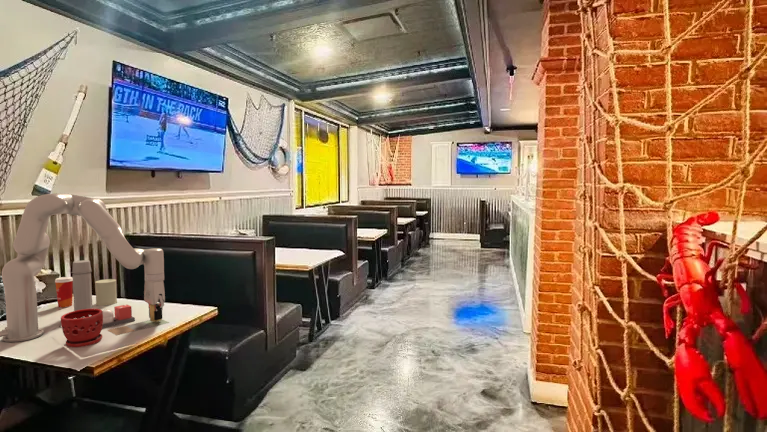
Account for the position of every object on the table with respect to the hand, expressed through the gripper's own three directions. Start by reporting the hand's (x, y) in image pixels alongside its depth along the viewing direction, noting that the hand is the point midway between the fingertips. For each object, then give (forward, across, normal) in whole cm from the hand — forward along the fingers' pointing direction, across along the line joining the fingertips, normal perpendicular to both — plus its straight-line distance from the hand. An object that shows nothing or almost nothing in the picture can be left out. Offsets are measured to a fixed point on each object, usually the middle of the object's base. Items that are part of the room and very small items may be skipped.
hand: (155, 318), depth 192 cm
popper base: (+3, -13, -12) cm, 18 cm away
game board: (+3, 0, -7) cm, 7 cm away
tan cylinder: (+1, 0, 0) cm, 1 cm away
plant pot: (+3, +4, -28) cm, 29 cm away
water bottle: (+3, -40, -15) cm, 43 cm away
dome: (+2, -13, -15) cm, 20 cm away
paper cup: (+3, -63, -16) cm, 65 cm away
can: (+3, -53, -1) cm, 53 cm away
